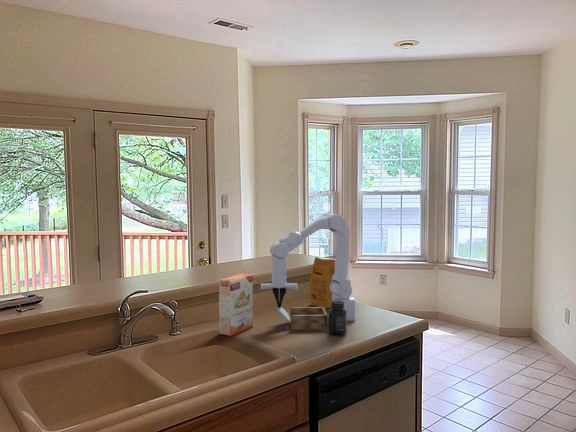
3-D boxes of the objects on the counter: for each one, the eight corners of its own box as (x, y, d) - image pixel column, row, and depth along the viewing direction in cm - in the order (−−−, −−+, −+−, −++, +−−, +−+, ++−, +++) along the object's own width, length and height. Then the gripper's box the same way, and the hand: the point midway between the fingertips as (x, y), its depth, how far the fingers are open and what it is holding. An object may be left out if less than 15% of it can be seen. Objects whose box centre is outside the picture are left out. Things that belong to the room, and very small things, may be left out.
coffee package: (320, 301, 228) (320, 255, 226) (340, 306, 219) (340, 258, 217) (305, 304, 221) (305, 257, 219) (326, 310, 212) (326, 261, 210)
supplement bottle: (348, 332, 182) (349, 301, 181) (343, 337, 176) (343, 305, 175) (331, 329, 185) (331, 299, 184) (325, 335, 178) (325, 303, 177)
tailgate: (289, 315, 195) (279, 304, 195) (290, 322, 186) (279, 310, 185) (288, 317, 195) (277, 305, 195) (288, 324, 186) (277, 312, 185)
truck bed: (324, 320, 197) (324, 307, 197) (327, 329, 185) (327, 315, 185) (290, 320, 197) (290, 307, 196) (291, 329, 185) (291, 315, 184)
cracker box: (231, 337, 176) (230, 281, 175) (218, 334, 180) (217, 279, 178) (253, 327, 188) (253, 274, 187) (241, 324, 192) (241, 272, 190)
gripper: (260, 275, 185) (260, 309, 186) (298, 274, 185) (298, 309, 186) (260, 271, 192) (261, 305, 193) (297, 271, 192) (297, 304, 193)
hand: (279, 306), depth 190 cm, fingers closed
